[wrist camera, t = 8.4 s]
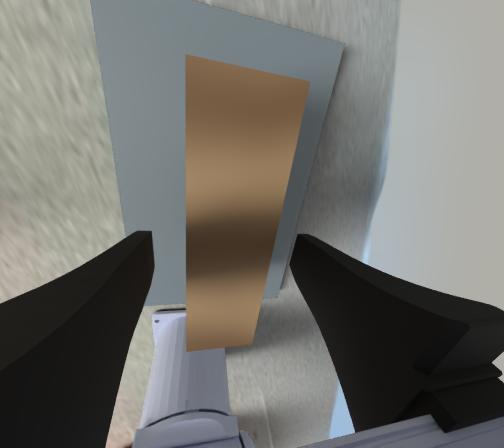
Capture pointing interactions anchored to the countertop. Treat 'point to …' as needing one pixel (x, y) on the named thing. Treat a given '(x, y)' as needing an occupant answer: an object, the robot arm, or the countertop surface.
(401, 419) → the robot arm
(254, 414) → the countertop surface
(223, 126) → the wooden block
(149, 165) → the peg rack
